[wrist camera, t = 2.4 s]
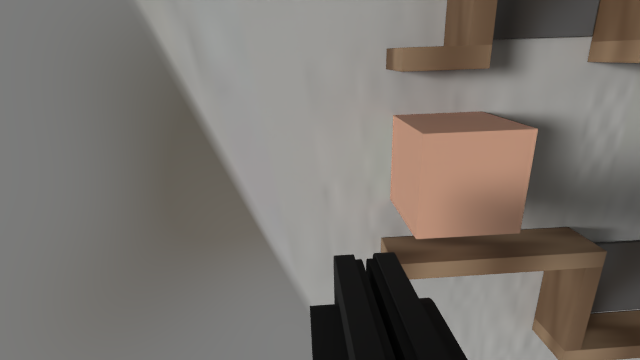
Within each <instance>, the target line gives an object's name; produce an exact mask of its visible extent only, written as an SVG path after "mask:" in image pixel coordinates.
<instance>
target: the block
mask: <svg viewBox="0 0 640 360" xmlns="http://www.w3.org/2000/svg"><path fill="white" fill-rule="evenodd" d="M537 133H538V129H537V128H534V127H530V126H527V125H524V124H521V123H517V122H514V121H511V120H508V119H504V118H501V117H498V116H495V115H491V114H488V113H485V112H460V113H435V114H411V115H393V142H392V168H391V195H390V199H391V201H392V203H393V204H394V206H395V207H396V209H397V210H398V212H399V213H400V215H401V217H402V218H403V220H404V221H405V223H406V224H407V226H408V228H409V229H410V231H411V232H412V234H413V235H414V237H415V238H416V239H428V238H446V237H463V236H481V235H499V234H516V233H520V230H521V224H522V218H523V213H524V207H525V201H526V195H527V190H528V184H529V178H530V173H531V167H532V161H533V156H534V150H535V144H536V138H537Z"/></svg>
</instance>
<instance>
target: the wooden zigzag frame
mask: <svg viewBox="0 0 640 360" xmlns="http://www.w3.org/2000/svg"><path fill="white" fill-rule="evenodd" d="M598 5H599V8H598ZM597 10H598V13H597ZM596 14H597V18H596ZM595 19H596V23H595ZM594 24H595V28H594ZM593 29H594V32H593ZM592 34H593V37H592V42H591V47H590V52H589V57H588V61H587V62H619V63H640V0H600V3H599V0H447V12H446V24H445V37H444V46H439V47H409V48H392V49H387V59H386V69H389V70H395V71H402V72H404V71H431V70H458V69H485V68H489V67H490V59H491V50H492V42H493V39H513V38H543V37H574V36H592ZM386 252H394V253H395V254H396V256H397V258H398V260H399V262H400V264H401V266H402V267H403V269H404V271H405V273H406V275H407V277H408V279H423V278H439V277H454V276H470V275H485V274H501V273H517V272H532V271H544V274H543V279H542V284H541V289H540V294H539V299H538V303H537V308H536V313H535V318H534V323H533V328H532V330H533V331H534V332H535V333H536V334H537V335H538V337H539V338H540V339H541V340H542V341H543V342H544V344H545V345H546V346H547V347H548V348H549V349H550V351H551V352H552V353H553V354H554V355H555V356H556V358H557V359H558V360H617V359H630V358H640V310H637V311H623V312H608V313H594V314H590V313H591V312H604V311H618V310H632V309H640V240H638V241H622V242H605V243H593V242H591V241H590V240H588V239H587V238H585V237H583V236H582V235H580V234H579V233H577V232H576V231H574V230H572V229H571V228H569V227H559V228H542V229H525V230H520V233H516V234H499V235H481V236H463V237H446V238H428V239H416V238H415V237H414V236H405V237H388V238H381V253H386Z"/></svg>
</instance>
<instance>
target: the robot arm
mask: <svg viewBox="0 0 640 360" xmlns="http://www.w3.org/2000/svg"><path fill="white" fill-rule="evenodd" d="M334 296H335V304H333V305H318V306H310V317H311V335H312V355H313V360H467V358H466V356H465V354H464V353H463V351H462V349H461V348H460V346H459V344H458V343H457V341H456V339H455V337H454V336H453V334H452V332H451V331H450V329H449V327H448V325H447V324H446V322H445V320H444V319H443V317H442V315H441V313H440V312H439V310H438V308H437V307H436V305H435V303H434V302H433V300H432V299H430V298H418V296H417V294H416V292H415V290H414V288H413V286H412V285H411V283H410V281H409V279H408V277H407V275H406V273H405V271H404V269H403V267H402V266H401V264H400V262H399V260H398V258H397V256H396V254H395V253H394V252H386V253H374V254H373V259H367V261H366V270H365V267H364V265H363V262H362V259H357V260H355V257H354V255H338V256H334Z"/></svg>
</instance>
